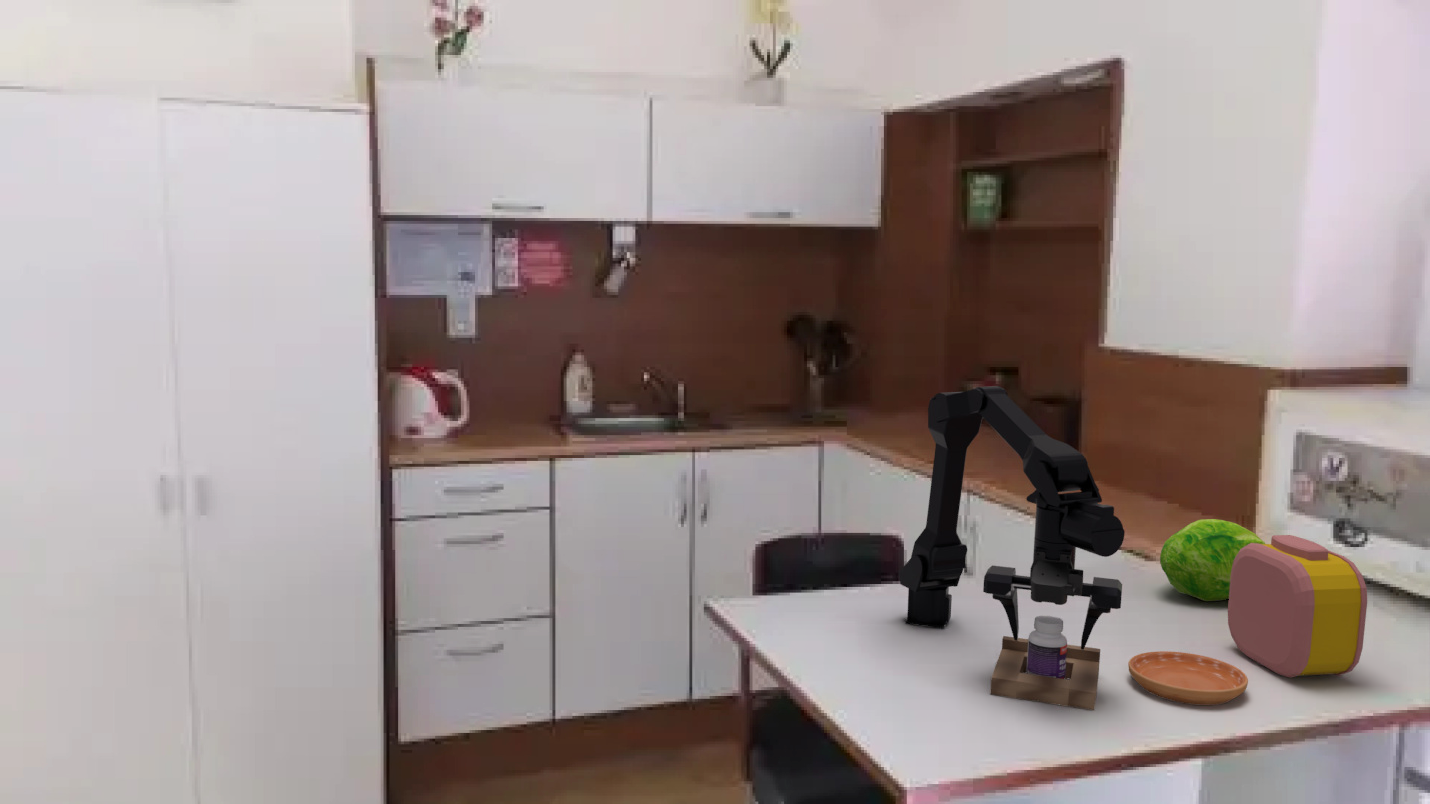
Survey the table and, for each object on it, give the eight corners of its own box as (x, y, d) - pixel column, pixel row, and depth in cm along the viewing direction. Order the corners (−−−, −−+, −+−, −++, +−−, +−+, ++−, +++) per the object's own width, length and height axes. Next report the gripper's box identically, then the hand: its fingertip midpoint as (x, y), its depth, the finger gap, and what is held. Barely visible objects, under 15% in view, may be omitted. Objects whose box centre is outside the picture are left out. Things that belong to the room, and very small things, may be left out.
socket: (990, 694, 159) (991, 667, 159) (1002, 661, 172) (1003, 636, 172) (1094, 710, 155) (1096, 682, 154) (1098, 674, 167) (1100, 649, 167)
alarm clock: (1364, 686, 165) (1377, 558, 162) (1296, 690, 163) (1308, 560, 160) (1281, 642, 183) (1291, 526, 180) (1219, 645, 181) (1229, 527, 178)
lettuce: (1213, 571, 220) (1285, 604, 206) (1131, 586, 209) (1202, 622, 196) (1228, 500, 216) (1302, 529, 203) (1145, 512, 205) (1218, 543, 192)
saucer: (1112, 667, 171) (1113, 648, 171) (1218, 670, 171) (1220, 651, 171) (1149, 710, 156) (1151, 689, 155) (1266, 713, 155) (1268, 692, 155)
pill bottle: (1066, 693, 160) (1070, 627, 159) (1027, 689, 161) (1030, 624, 160) (1062, 679, 166) (1066, 615, 164) (1024, 675, 167) (1028, 612, 165)
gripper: (980, 545, 156) (975, 653, 158) (1123, 560, 150) (1116, 673, 152) (991, 527, 166) (985, 628, 169) (1125, 540, 160) (1118, 646, 162)
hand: (1048, 644), depth 162 cm, fingers open, 9 cm apart
